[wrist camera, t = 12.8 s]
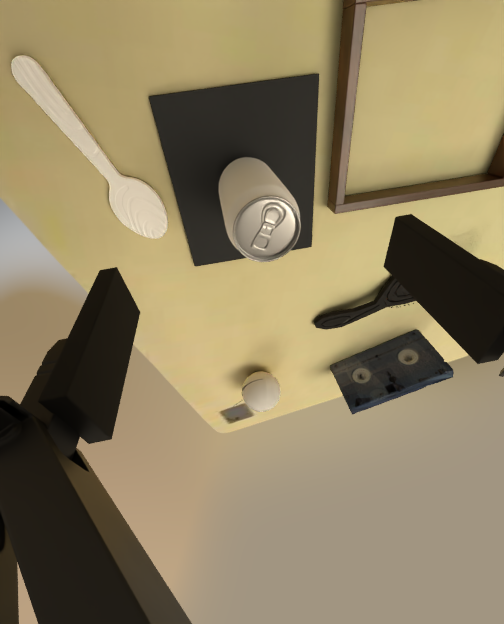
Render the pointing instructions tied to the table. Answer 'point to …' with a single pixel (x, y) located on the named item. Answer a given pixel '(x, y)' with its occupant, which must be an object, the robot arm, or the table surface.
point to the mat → (237, 151)
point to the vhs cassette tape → (389, 371)
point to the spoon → (95, 154)
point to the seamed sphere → (261, 391)
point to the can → (258, 210)
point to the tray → (348, 71)
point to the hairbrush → (367, 306)
